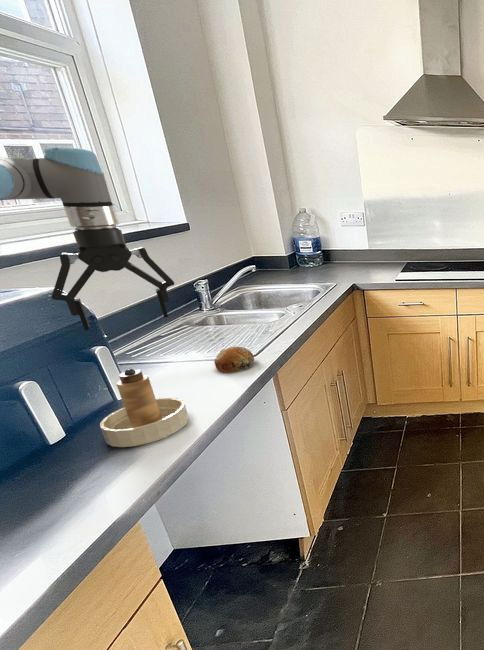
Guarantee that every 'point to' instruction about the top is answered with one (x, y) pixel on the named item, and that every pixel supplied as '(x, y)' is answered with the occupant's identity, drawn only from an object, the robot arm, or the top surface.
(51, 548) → the top surface
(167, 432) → the bowl
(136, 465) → the top surface
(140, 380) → the pepper mill
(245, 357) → the bread roll
